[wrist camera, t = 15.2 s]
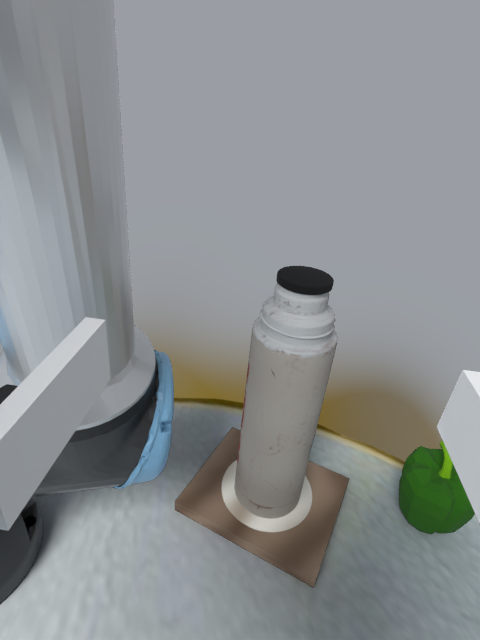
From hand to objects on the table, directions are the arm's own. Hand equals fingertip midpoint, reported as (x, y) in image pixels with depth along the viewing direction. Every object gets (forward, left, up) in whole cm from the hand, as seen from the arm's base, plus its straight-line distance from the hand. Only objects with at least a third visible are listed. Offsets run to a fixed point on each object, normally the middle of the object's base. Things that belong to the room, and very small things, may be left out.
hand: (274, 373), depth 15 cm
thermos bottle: (-5, +20, -32) cm, 38 cm away
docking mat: (-5, +20, -33) cm, 39 cm away
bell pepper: (+13, +28, -34) cm, 46 cm away
